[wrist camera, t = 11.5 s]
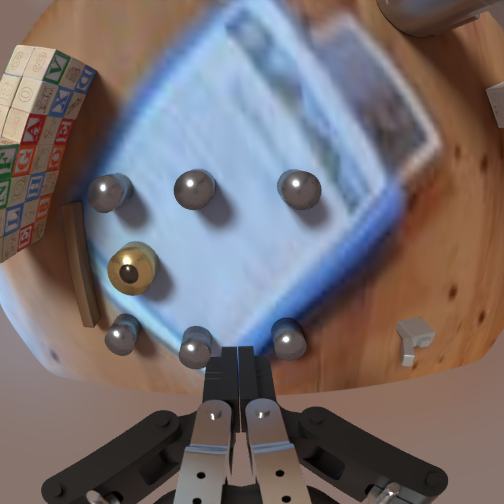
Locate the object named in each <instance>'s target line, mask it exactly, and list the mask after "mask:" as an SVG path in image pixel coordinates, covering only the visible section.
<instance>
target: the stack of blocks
mask: <svg viewBox="0 0 504 504" xmlns="http://www.w3.org/2000/svg"><path fill="white" fill-rule="evenodd" d="M96 72H97V71H96V70H95V69H93V68H91V67H90V66H88V65H86V64H85V63H83V62H81V61H79V60H77V59H75V58H73V57H70V56H69V55H66V54H64V53H62V52H60V51H58V50H55V49H49V48H42V47H31V46H23V45H17V46H16V48H15V50H14V52H13V54H12V57H11V59H10V61H9V64H8V66H7V68H6V72H5V74H4V75H3V77H2V80H1V82H0V263H3V262H4V261H5V260H7V259H8V258H10V257H12V256H13V255H15V254H16V253H17V252H19V251H21V250H22V249H24V248H25V247H27V246H29V245H30V244H33V243H35V242H36V241H38V240H40V239H41V238H43V235H44V230H45V225H46V220H47V216H48V213H49V209H50V204H51V200H52V196H53V192H54V188H55V185H56V181H57V177H58V174H59V167H60V165H61V161H62V157H63V154H64V151H65V148H66V143H67V141H68V138H69V136H70V133H71V130H72V127H73V124H74V121H75V119H76V118H77V116H78V113H79V111H80V108H81V106H82V103H83V101H84V99H85V96H86V94H87V92H88V89H89V87H90V85H91V83H92V81H93V79H94V76H95V74H96Z"/></svg>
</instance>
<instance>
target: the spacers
mask: <svg viewBox="0 0 504 504" xmlns="http://www.w3.org/2000/svg"><path fill="white" fill-rule="evenodd" d="M277 189H278V193H279V195H280V196H281V198H282V199H284V200H285V201H286V202H287V203H288V204H289V205H290V206H292V207H293V208H295V209H299V210H306V209H309V208H311V207H313V206H314V205H315V204H316V203H317V202H318V201H319V199H320V196H321V185H320V182H319V180H318V179H317V178H316V177H315V176H314V175H313V174H311V173H309V172H305V171H301V170H296V169H292V170H288V171H286V172H284V173H283V174H282V175H281V176H280V178H279V180H278V183H277ZM132 191H133V188H132V184H131V181H130V180H129V178H128V177H127V176H125V175H124V174H120V173H115V174H111V175H106V176H101V177H98V178H96V179H94V180H93V181H92V182H91V184H90V186H89V188H88V193H87V195H88V201H89V203H90V205H91V207H92V208H93V209H94V210H95V211H97V212H100V213H108V212H110V211H112V210H114V209H116V208H118V207H120V206H122V205H124V204H125V203H127V202H128V201H129V199H130V198H131V196H132ZM214 191H215V180H214V178H213V176H212V175H211V174H210V173H209V172H208V171H206V170H203V169H193V170H191V171H188V172H185V173H183V174H182V175H181V176H180V177H179V178H178V179H177V181H176V183H175V185H174V195H175V198H176V200H177V202H178V203H179V204H180V205H181V206H182V207H184V208H186V209H190V210H197V209H200V208H203V207H204V206H206V205H207V204H208V203H209V201H210V200H211V198H212V196H213V193H214ZM140 332H141V325H140V323H139V321H138V320H137V319H136V318H135V317H133V316H132V315H129V314H121V315H119V316H118V317H117V318H116V319H115V321H114V323H113V324H112V326H111V327H110V329H109V331H108V332H107V334H106V336H105V343H106V346H107V347H108V349H109V350H110V351H112V352H113V353H115V354H117V355H120V356H126V355H128V354H130V353H131V352H132V350H133V348H134V345H135V343H136V341H137V338H138V336H139V334H140ZM271 333H272V338H273V342H274V347H275V351H276V354H277V356H278V357H279V358H280V359H282V360H286V361H292V360H296V359H298V358H300V357H301V356H302V355H303V354H304V353H305V351H306V348H307V345H306V342H305V339H304V336H303V334H302V331H301V328H300V326H299V324H298V322H297V321H296V320H294V319H292V318H282V319H280V320H278V321H276V322H275V323H274V324H273V326H272V329H271ZM211 342H212V337H211V334H210V332H209V331H208V330H207V329H205V328H203V327H200V326H193V327H190V328H188V329H187V330H186V331H185V332H184V335H183V339H182V343H181V348H180V352H179V359H180V361H181V363H182V364H183V365H185V366H186V367H188V368H191V369H201V368H204V367H206V364H207V362H208V361H209V360H210V354H211Z"/></svg>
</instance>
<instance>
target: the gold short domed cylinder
mask: <svg viewBox="0 0 504 504" xmlns="http://www.w3.org/2000/svg"><path fill="white" fill-rule="evenodd" d="M158 267H159V262H158V257H157V255H156V253H155V251H154V250H153V249H152V248H151V247H150V246H149V245H147V244H145V243H143V242H138V241H134V242H130V243H127V244H126V245H124V246H123V247H122V248H121V249H120V250H119V251H118V252H117V253H116V254H115V255H114V256H113V257H112V258H111V259H110V261H109V264H108V277H109V279H110V282H111V283H112V285H113V286H114V287H115V288H116V289H117V290H118V291H120V292H121V293H123V294H126V295H131V296H134V295H139V294H142V293H143V292H145V291H146V290H147V289H148V287H149V285H150V284H151V282H152V280H153V279H154V277H155V275H156V273H157V271H158Z"/></svg>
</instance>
